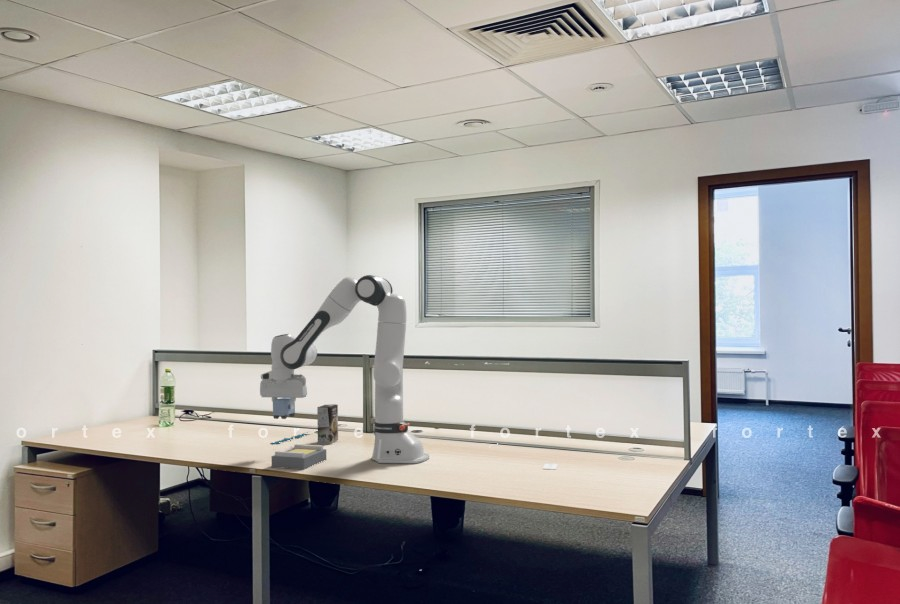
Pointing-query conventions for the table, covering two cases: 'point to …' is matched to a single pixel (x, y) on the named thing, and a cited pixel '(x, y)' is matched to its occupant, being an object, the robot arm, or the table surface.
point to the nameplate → (288, 438)
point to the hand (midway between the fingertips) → (284, 408)
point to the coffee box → (327, 424)
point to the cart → (282, 408)
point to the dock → (299, 456)
